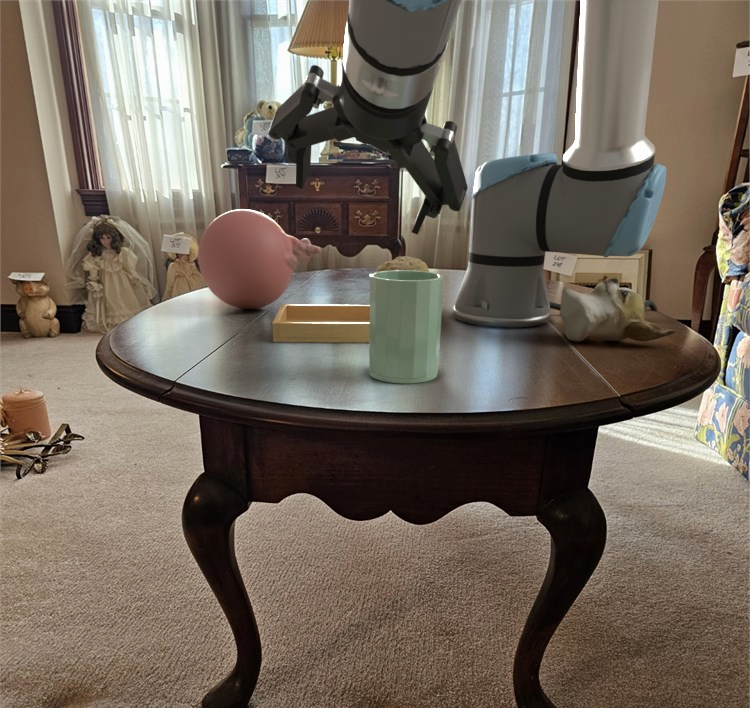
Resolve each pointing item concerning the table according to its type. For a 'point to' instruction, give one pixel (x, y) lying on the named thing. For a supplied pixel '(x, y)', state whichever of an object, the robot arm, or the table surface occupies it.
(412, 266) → the coral
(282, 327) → the tray
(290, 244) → the balloon
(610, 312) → the ceramic sculpture
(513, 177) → the robot arm
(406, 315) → the cup
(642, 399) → the table surface
